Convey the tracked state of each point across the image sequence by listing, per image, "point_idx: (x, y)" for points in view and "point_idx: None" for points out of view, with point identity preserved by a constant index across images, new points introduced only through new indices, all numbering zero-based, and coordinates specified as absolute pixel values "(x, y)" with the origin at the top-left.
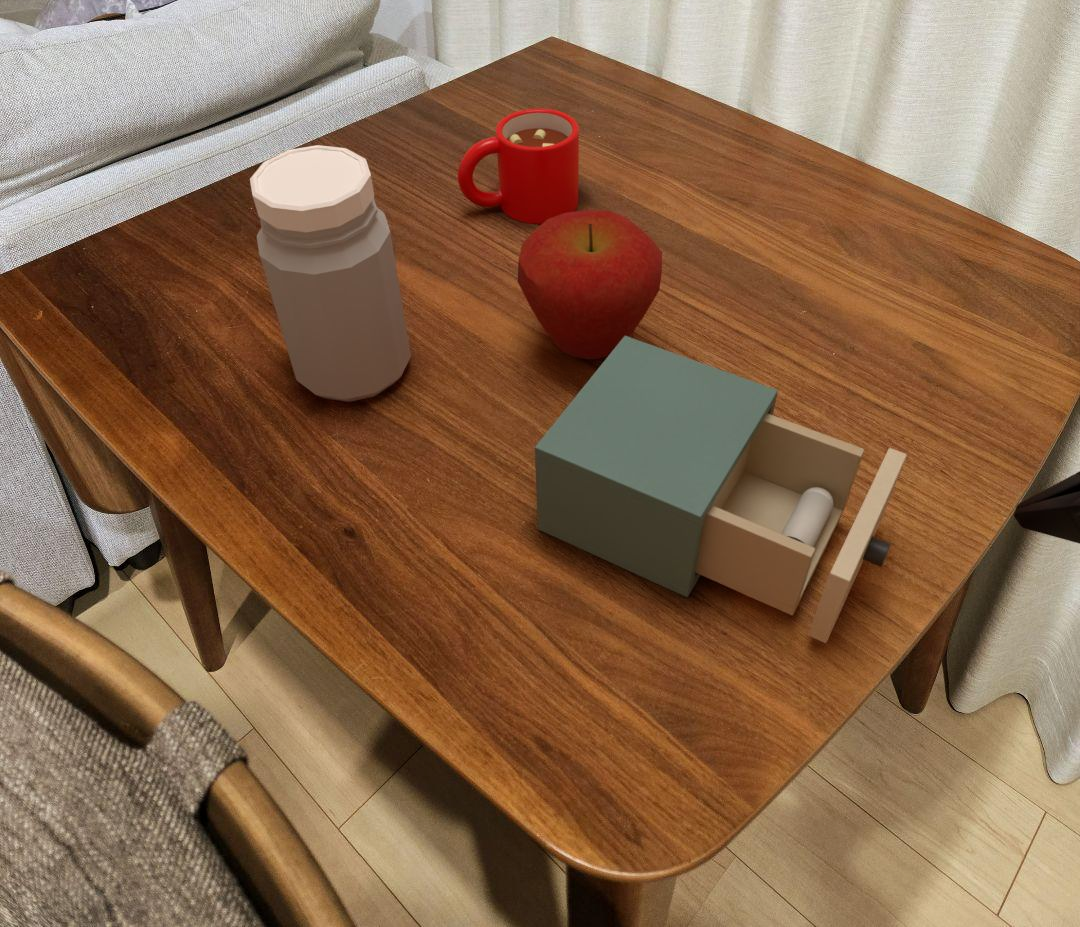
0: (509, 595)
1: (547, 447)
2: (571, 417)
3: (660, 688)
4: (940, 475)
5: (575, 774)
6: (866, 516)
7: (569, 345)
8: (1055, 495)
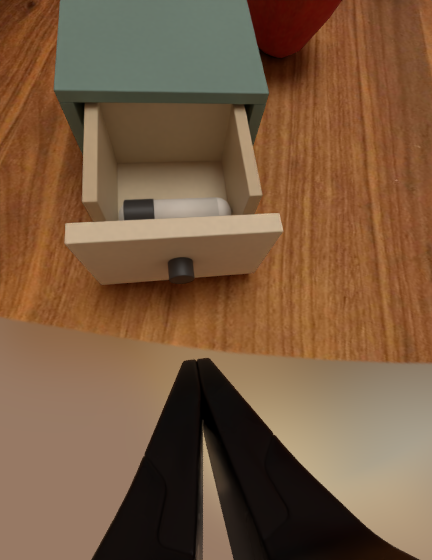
0: (33, 94)
1: None
2: None
3: (6, 204)
4: (339, 298)
5: None
6: (167, 226)
7: None
8: (211, 414)
